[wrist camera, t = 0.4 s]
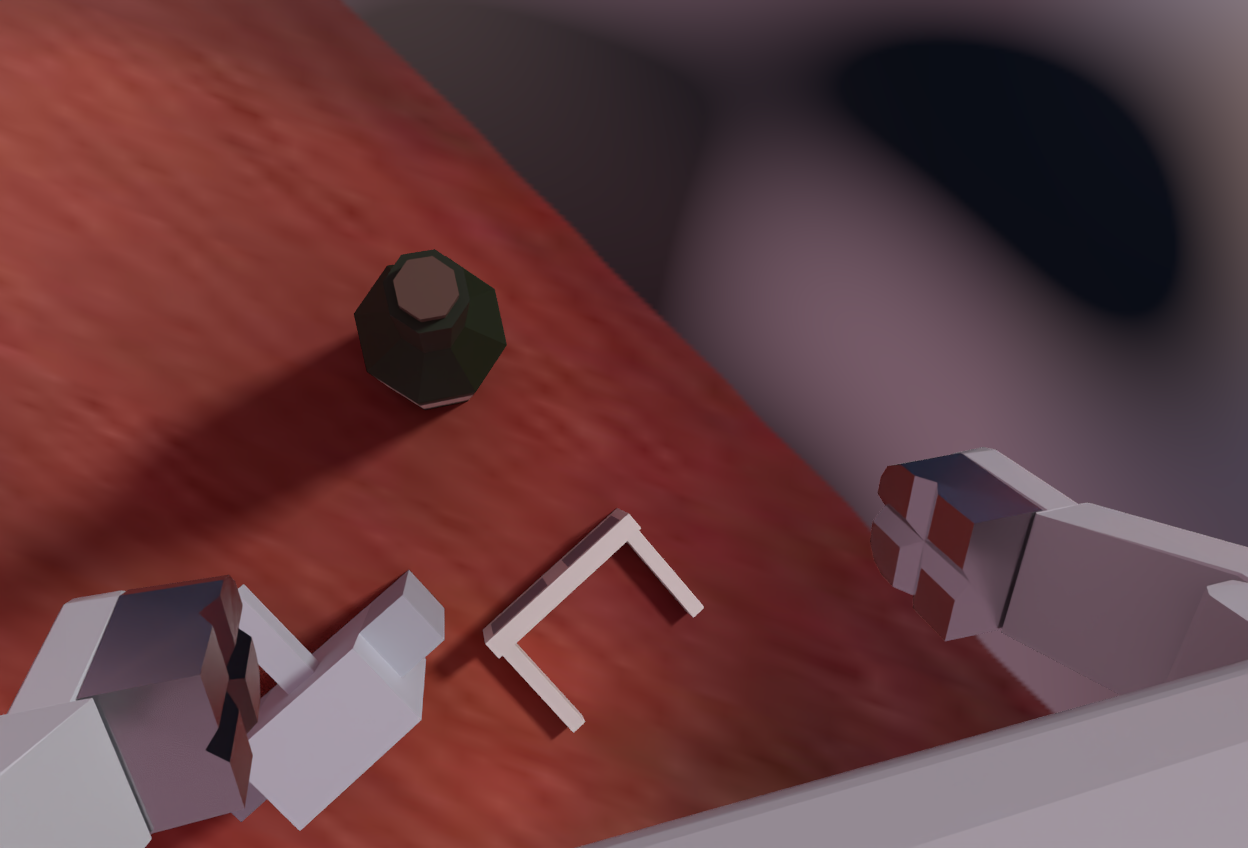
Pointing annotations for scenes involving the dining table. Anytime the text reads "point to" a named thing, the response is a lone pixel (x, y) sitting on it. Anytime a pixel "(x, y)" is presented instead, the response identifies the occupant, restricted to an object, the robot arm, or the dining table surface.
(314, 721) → the white block with peg
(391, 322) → the wine bottle
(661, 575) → the white u-shaped bracket
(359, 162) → the dining table surface
